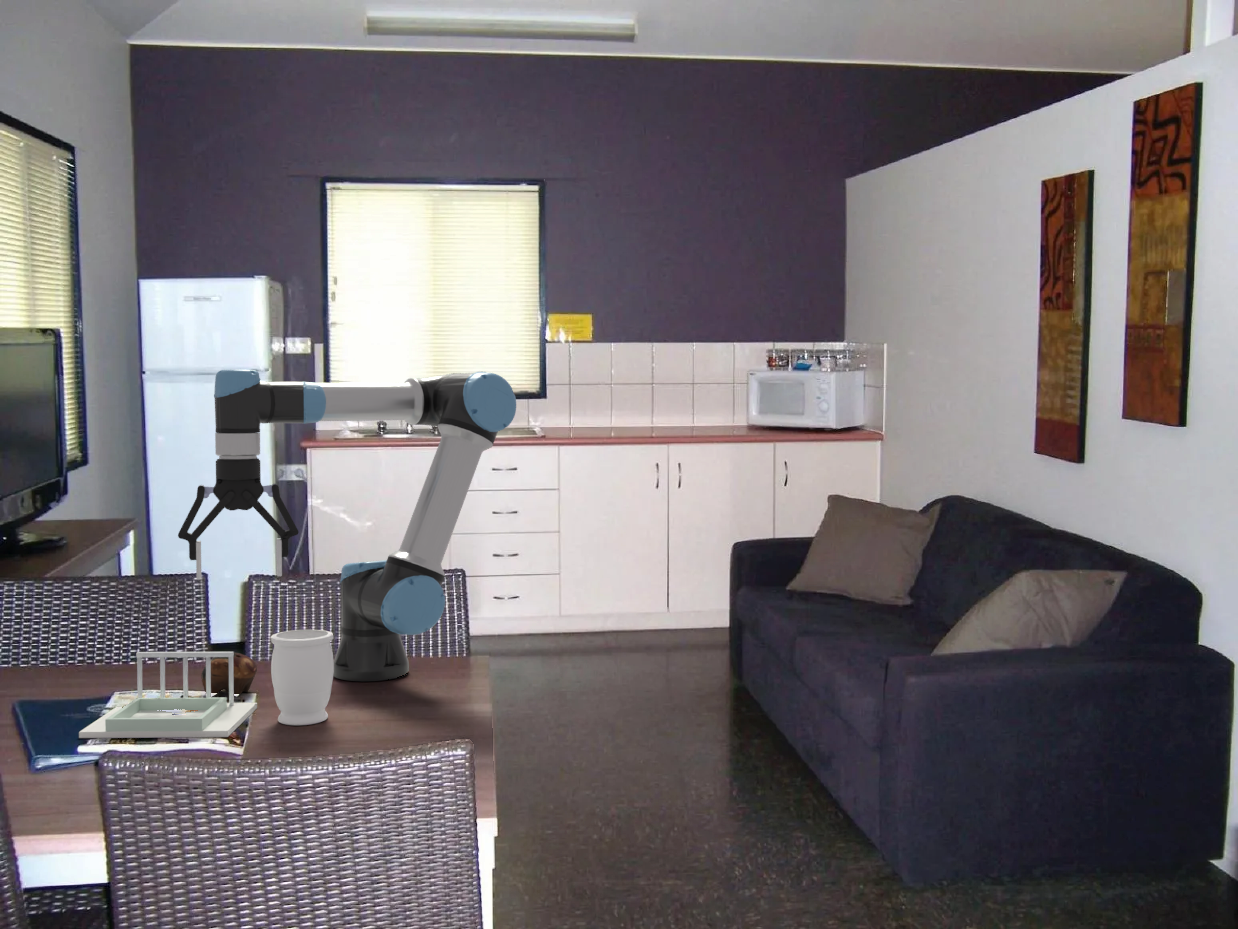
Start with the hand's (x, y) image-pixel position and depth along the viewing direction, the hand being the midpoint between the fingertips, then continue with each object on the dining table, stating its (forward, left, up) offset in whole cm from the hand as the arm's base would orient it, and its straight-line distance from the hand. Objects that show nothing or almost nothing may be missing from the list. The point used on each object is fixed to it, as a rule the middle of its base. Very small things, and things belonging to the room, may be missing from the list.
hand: (239, 577), depth 215 cm
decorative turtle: (+6, -14, -24) cm, 28 cm away
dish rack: (+10, +7, -24) cm, 27 cm away
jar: (-12, +6, -24) cm, 28 cm away
